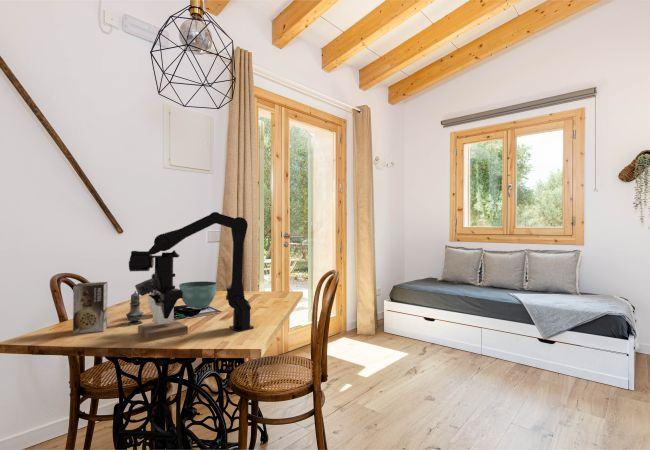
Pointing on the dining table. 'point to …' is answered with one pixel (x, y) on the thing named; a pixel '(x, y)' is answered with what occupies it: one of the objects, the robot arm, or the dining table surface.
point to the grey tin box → (161, 314)
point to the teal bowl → (198, 293)
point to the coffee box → (89, 307)
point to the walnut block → (162, 330)
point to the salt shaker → (134, 311)
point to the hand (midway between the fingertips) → (163, 317)
